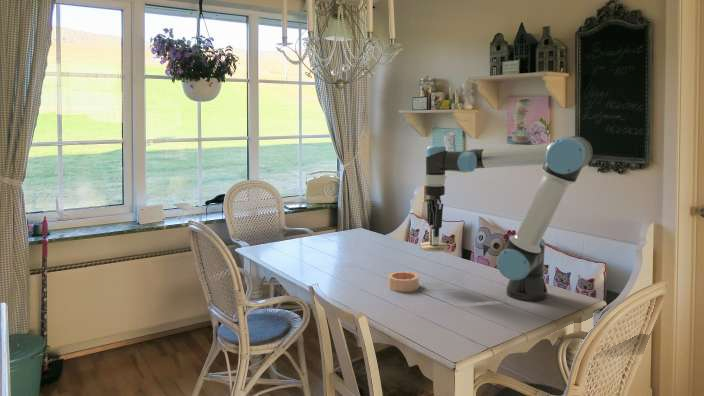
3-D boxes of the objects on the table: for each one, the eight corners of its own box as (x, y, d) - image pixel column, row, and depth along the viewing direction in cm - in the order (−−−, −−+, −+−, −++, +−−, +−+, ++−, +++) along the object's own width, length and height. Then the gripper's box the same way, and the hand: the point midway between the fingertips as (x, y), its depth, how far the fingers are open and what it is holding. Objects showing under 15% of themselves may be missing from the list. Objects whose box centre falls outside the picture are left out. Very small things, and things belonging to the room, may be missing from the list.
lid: (451, 250, 207) (452, 227, 205) (424, 252, 205) (425, 228, 203) (442, 244, 217) (442, 222, 216) (416, 245, 215) (417, 223, 214)
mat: (452, 291, 209) (452, 289, 209) (428, 293, 208) (428, 290, 208) (443, 283, 219) (443, 281, 219) (420, 285, 217) (420, 283, 217)
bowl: (422, 292, 208) (422, 279, 207) (392, 294, 206) (393, 281, 205) (413, 283, 220) (413, 270, 219) (385, 285, 218) (385, 272, 217)
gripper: (451, 187, 200) (450, 247, 204) (437, 182, 216) (436, 238, 219) (432, 188, 199) (431, 248, 202) (419, 182, 214) (418, 239, 218)
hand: (433, 243), depth 211 cm, fingers closed on lid, 3 cm apart
